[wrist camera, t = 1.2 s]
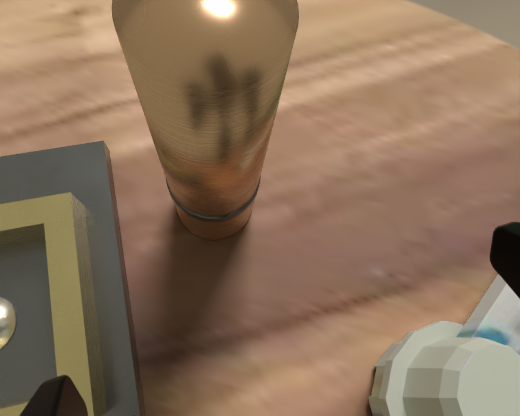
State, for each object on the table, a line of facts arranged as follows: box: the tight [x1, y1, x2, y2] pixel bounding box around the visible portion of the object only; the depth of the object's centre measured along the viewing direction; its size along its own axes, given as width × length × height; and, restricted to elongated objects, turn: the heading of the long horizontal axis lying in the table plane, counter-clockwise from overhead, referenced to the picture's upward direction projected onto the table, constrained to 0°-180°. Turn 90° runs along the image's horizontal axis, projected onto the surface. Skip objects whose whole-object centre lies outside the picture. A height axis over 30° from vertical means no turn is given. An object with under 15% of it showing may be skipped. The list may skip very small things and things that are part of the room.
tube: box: [112, 0, 299, 240], centre depth 16 cm, size 4×4×14 cm
